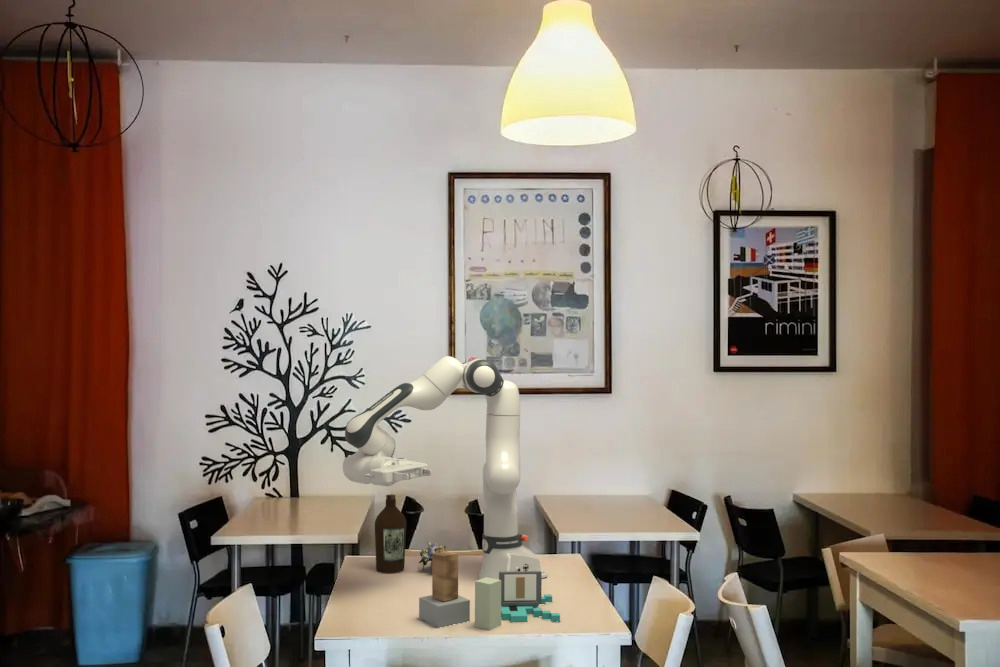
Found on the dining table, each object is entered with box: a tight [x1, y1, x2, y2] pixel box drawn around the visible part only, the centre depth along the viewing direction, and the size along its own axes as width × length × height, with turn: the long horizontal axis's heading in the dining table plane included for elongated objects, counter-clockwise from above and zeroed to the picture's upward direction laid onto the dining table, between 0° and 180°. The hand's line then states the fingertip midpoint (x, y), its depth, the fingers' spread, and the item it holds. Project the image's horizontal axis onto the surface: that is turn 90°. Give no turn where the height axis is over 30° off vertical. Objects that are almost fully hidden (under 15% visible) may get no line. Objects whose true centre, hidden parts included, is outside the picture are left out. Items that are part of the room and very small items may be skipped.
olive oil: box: [374, 493, 407, 574], centre depth 279 cm, size 11×11×25 cm
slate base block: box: [418, 594, 471, 629], centre depth 227 cm, size 10×10×6 cm
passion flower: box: [418, 540, 447, 570], centre depth 278 cm, size 11×11×12 cm
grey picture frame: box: [499, 571, 543, 606], centre depth 236 cm, size 12×5×9 cm, turn 94°
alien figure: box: [501, 594, 561, 623], centre depth 235 cm, size 20×2×20 cm
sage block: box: [474, 577, 502, 631], centre depth 222 cm, size 5×5×12 cm
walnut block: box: [431, 550, 459, 601], centre depth 227 cm, size 5×5×12 cm
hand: (419, 474), depth 247 cm, fingers open, 8 cm apart
